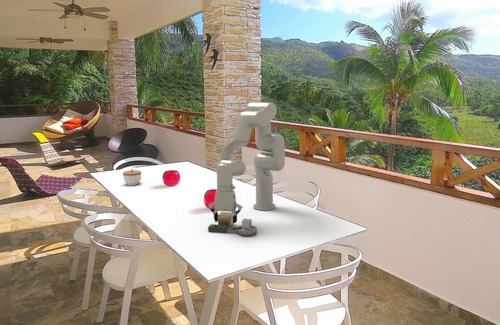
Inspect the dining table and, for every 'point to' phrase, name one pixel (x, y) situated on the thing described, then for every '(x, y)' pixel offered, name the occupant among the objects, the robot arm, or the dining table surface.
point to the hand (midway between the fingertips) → (225, 222)
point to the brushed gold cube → (225, 218)
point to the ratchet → (236, 229)
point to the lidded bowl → (132, 177)
